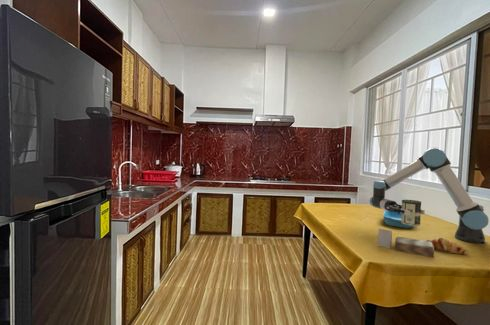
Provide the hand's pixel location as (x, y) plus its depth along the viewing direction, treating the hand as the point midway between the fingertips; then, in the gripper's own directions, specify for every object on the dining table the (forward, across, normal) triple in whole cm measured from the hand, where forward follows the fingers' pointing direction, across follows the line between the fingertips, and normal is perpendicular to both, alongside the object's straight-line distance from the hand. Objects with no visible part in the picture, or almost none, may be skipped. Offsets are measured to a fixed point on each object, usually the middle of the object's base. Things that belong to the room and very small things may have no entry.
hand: (416, 212), depth 160 cm
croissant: (+11, -9, -20) cm, 24 cm away
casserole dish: (-44, -30, -20) cm, 57 cm away
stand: (+8, +10, -19) cm, 23 cm away
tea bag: (0, +22, -20) cm, 29 cm away
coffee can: (-4, 0, -8) cm, 9 cm away
